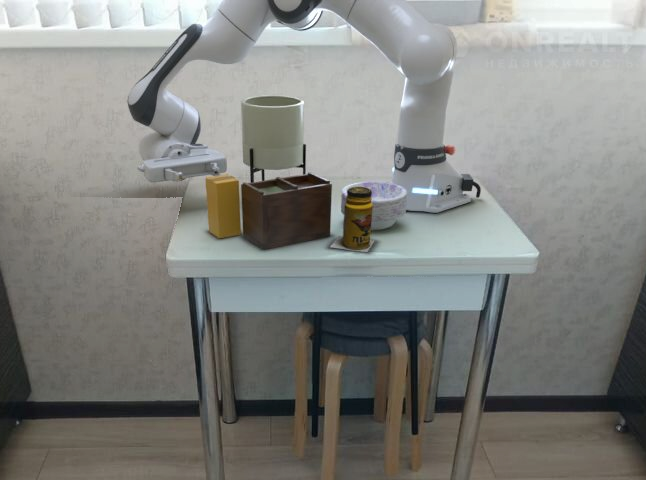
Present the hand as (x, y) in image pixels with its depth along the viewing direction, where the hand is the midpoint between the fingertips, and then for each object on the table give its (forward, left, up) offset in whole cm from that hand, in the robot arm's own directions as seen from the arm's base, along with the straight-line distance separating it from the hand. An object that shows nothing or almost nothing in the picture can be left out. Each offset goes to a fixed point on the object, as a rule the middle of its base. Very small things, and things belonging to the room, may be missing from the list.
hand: (198, 174), depth 162 cm
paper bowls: (-33, +24, -10) cm, 42 cm away
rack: (-11, +21, -10) cm, 26 cm away
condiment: (-21, +33, -10) cm, 41 cm away
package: (0, +12, -10) cm, 16 cm away
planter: (-23, -5, -10) cm, 26 cm away
